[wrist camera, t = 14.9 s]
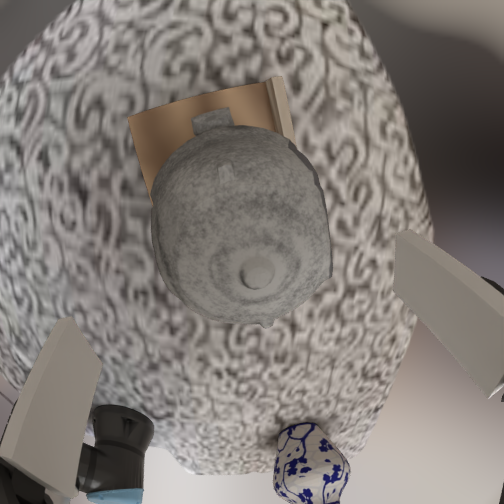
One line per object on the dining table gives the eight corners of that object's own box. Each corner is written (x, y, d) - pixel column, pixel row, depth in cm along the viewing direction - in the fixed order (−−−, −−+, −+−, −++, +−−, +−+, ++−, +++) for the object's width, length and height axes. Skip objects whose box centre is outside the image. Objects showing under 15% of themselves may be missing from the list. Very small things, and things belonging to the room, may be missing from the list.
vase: (329, 405, 60) (370, 509, 33) (334, 433, 69) (366, 516, 42) (254, 428, 60) (277, 536, 33) (272, 453, 69) (293, 538, 42)
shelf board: (173, 260, 38) (169, 276, 35) (129, 117, 29) (118, 116, 26) (302, 228, 39) (312, 240, 35) (275, 81, 30) (283, 75, 26)
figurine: (246, 108, 31) (334, 73, 8) (271, 217, 37) (358, 361, 15) (165, 129, 30) (66, 147, 8) (198, 236, 37) (192, 405, 14)
